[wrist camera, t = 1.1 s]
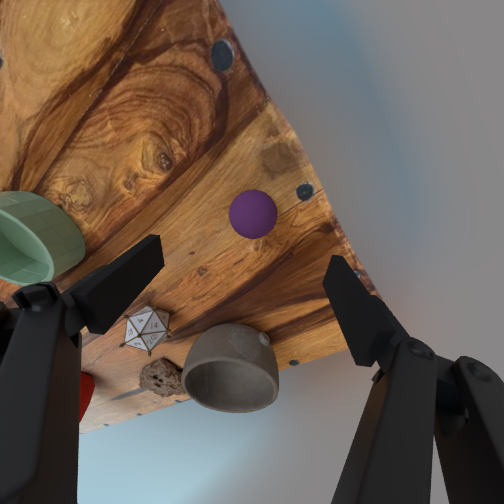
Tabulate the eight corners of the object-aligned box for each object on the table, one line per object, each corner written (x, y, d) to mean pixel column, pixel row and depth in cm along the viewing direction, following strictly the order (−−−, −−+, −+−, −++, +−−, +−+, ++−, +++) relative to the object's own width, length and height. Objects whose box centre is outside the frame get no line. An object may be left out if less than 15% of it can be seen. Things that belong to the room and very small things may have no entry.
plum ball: (234, 183, 25) (225, 193, 20) (279, 188, 25) (282, 199, 19) (232, 225, 28) (224, 244, 22) (272, 230, 28) (274, 249, 22)
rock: (164, 354, 45) (156, 370, 42) (201, 380, 50) (197, 396, 47) (128, 371, 50) (119, 387, 47) (166, 393, 55) (159, 409, 51)
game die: (165, 290, 40) (149, 297, 30) (187, 324, 40) (177, 342, 30) (125, 315, 38) (93, 331, 28) (147, 350, 38) (124, 378, 29)
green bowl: (-23, 185, 27) (-84, 193, 23) (67, 195, 27) (24, 206, 22) (24, 262, 34) (-16, 281, 29) (96, 270, 34) (68, 291, 29)
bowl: (263, 302, 35) (261, 354, 26) (285, 358, 43) (290, 412, 34) (182, 317, 38) (157, 368, 30) (216, 366, 46) (205, 417, 38)
